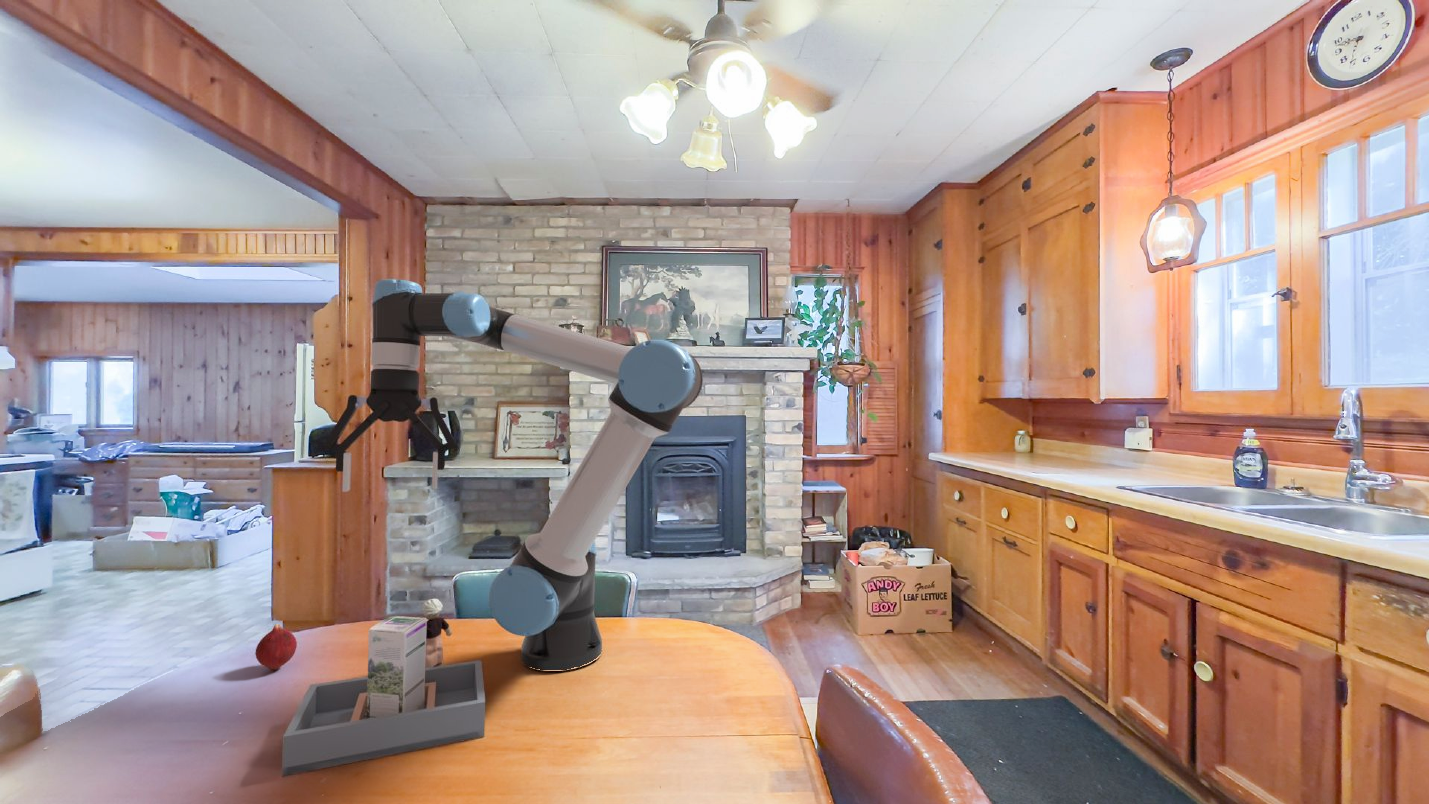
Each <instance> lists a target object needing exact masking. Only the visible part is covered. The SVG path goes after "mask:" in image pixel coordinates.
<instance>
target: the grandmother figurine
mask: <svg viewBox="0 0 1429 804" xmlns="http://www.w3.org/2000/svg"><path fill="white" fill-rule="evenodd" d="M443 606H444V605H443V603H442V602H441V601H440V600H439V599H438V598H431V599H428V600H426V602H424V603H423V605H422V613H423V615H424V618H426V619H427V631H426V658H425V668H430V667H436V666H443V665H445V664H444V647H443V645H444V644H443V638H442V630H443V631H444V632H445V635H446V636H447V637H450V636H452V634H453V631H452V629H451V627H450V624H449V623H448V622H447V621H446V620H445V619H444V617H439V615H440V614H441V612H442V611H443Z"/></svg>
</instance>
